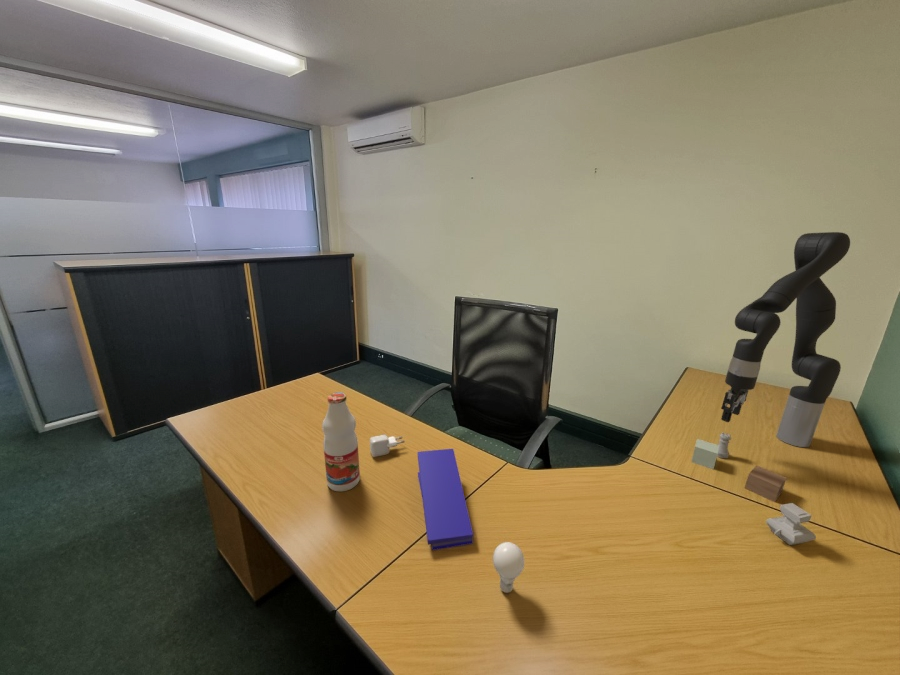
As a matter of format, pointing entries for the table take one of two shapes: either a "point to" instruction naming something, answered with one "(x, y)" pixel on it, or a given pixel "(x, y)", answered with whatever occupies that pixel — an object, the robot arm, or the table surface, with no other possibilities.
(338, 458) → the fruit juice
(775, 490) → the walnut block
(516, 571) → the lightbulb
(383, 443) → the power adapter
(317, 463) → the table surface
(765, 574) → the table surface
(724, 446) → the rook chess piece
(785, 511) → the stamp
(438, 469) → the purple rectangular block
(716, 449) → the sage block
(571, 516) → the table surface
